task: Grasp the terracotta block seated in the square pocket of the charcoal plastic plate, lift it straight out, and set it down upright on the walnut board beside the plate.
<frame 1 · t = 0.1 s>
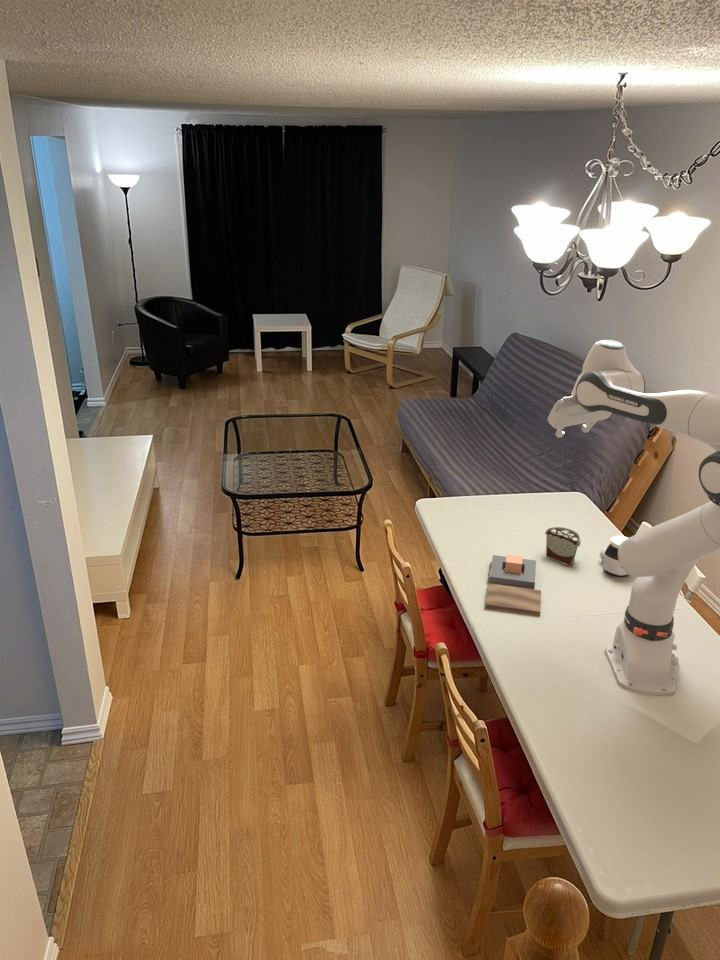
hand: (571, 433, 209), 52 cm above the table, tool tilted 20°, fingers open, 8 cm apart
spread jar: (613, 569, 242), on the table
walnut board: (513, 601, 224), on the table
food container: (562, 558, 248), on the table
pocket plate: (512, 575, 238), on the table
terracotta block: (513, 567, 237), in the pocket plate
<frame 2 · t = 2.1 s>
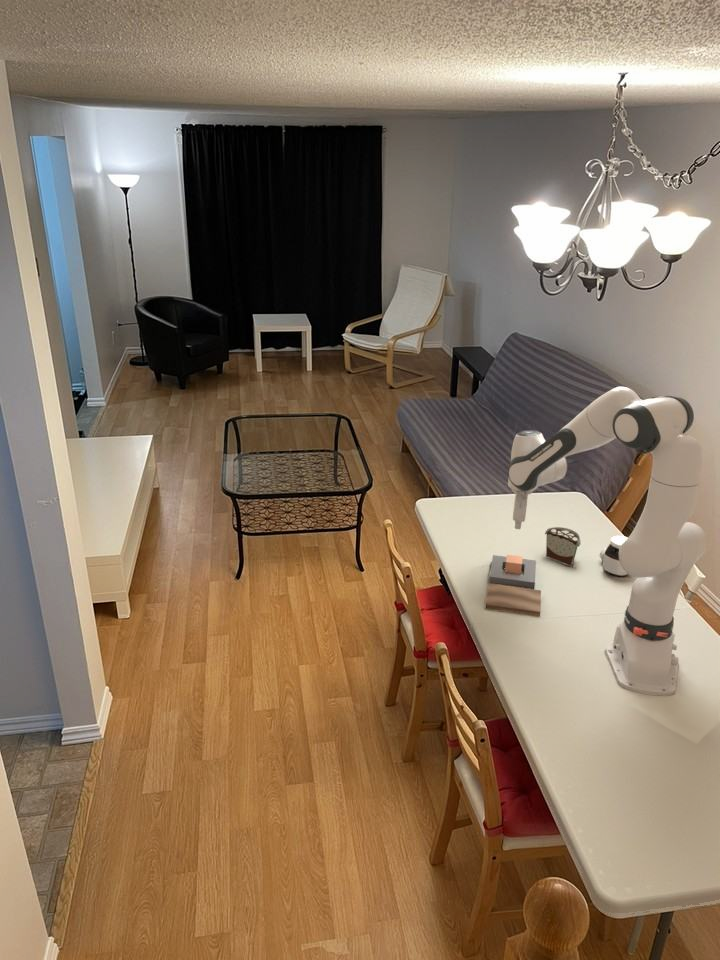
hand: (518, 521, 230), 19 cm above the table, tool pointing down, fingers open, 8 cm apart
nothing on the table moved.
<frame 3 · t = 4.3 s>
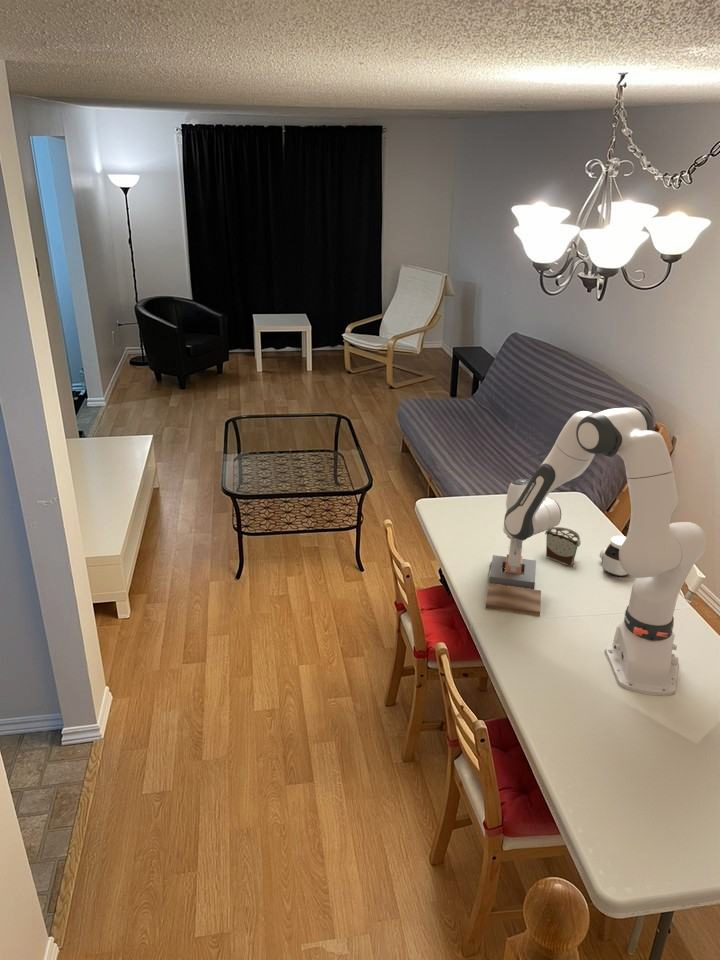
hand: (513, 565, 236), 4 cm above the table, tool pointing down, fingers closed on terracotta block, 5 cm apart
terracotta block: (513, 567, 236), in the pocket plate, touching gripper
everything else where it was.
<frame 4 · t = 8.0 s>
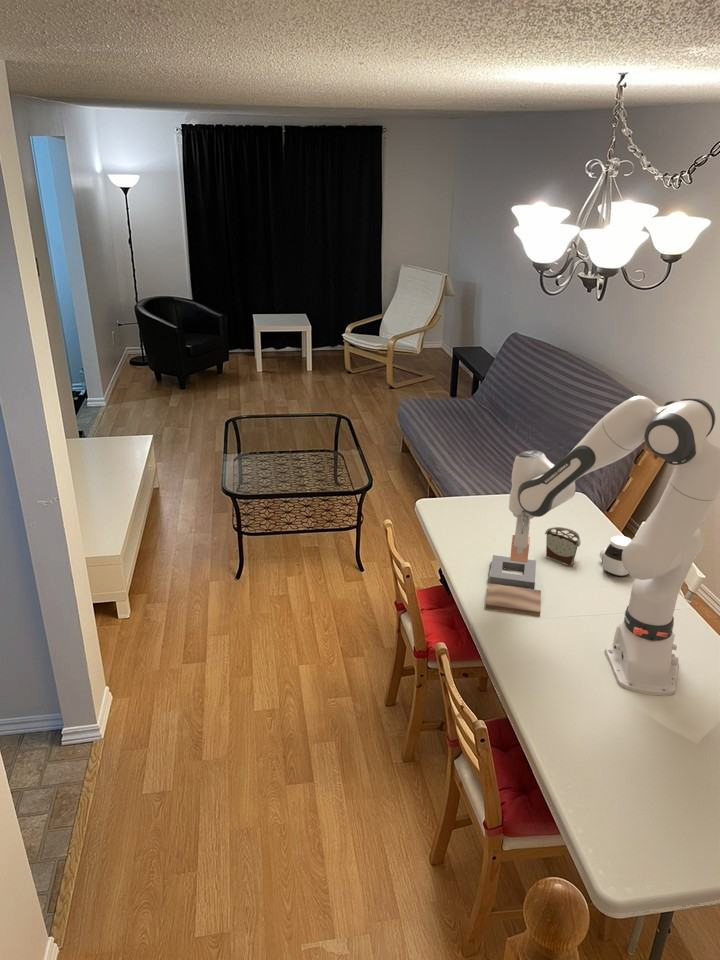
hand: (520, 546, 216), 19 cm above the table, tool pointing down, fingers closed on terracotta block, 5 cm apart
terracotta block: (520, 548, 217), point 18 cm above the table, touching gripper
everything else where it was.
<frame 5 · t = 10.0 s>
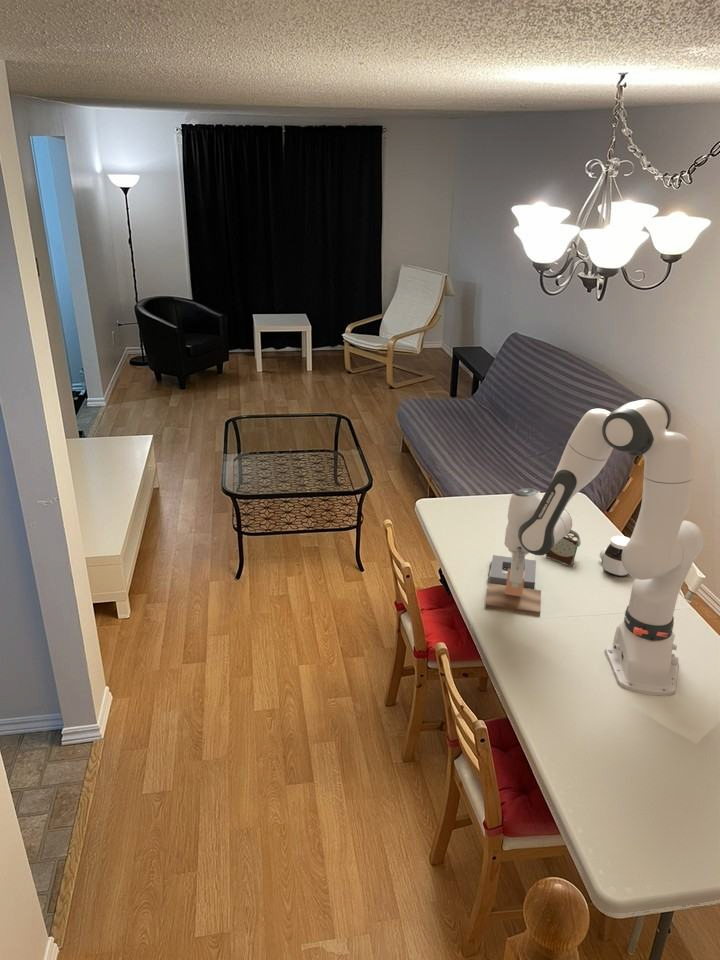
hand: (515, 580, 221), 7 cm above the table, tool pointing down, fingers closed on terracotta block, 5 cm apart
terracotta block: (515, 582, 221), point 7 cm above the table, touching gripper
everything else where it was.
when the fingers open (6 cm above the table, at t = 11.5 s): terracotta block stays where it is, resting on walnut board.
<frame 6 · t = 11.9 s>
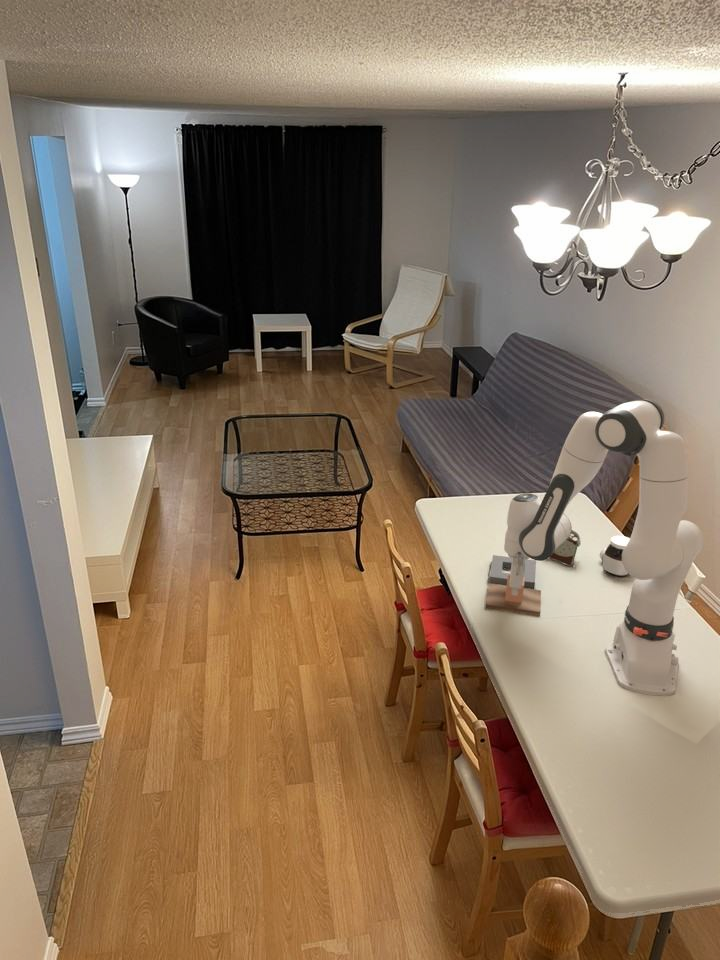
hand: (515, 585, 221), 6 cm above the table, tool pointing down, fingers open, 8 cm apart
terracotta block: (514, 588, 222), on the walnut board, point 4 cm above the table
everything else where it was.
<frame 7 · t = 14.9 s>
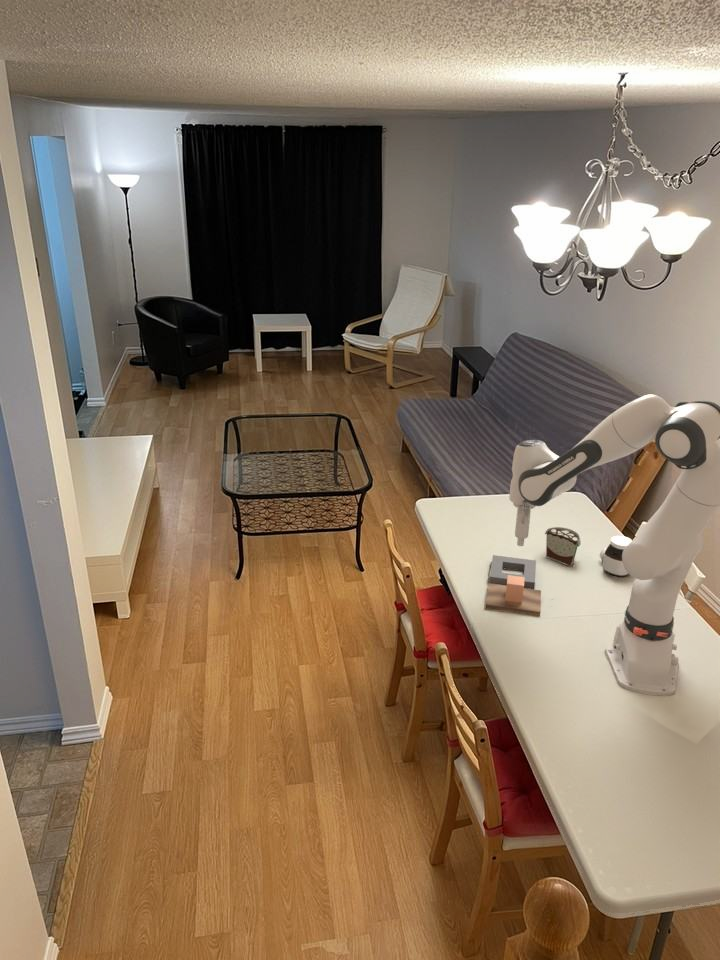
hand: (520, 537, 215), 22 cm above the table, tool pointing down, fingers open, 8 cm apart
nothing on the table moved.
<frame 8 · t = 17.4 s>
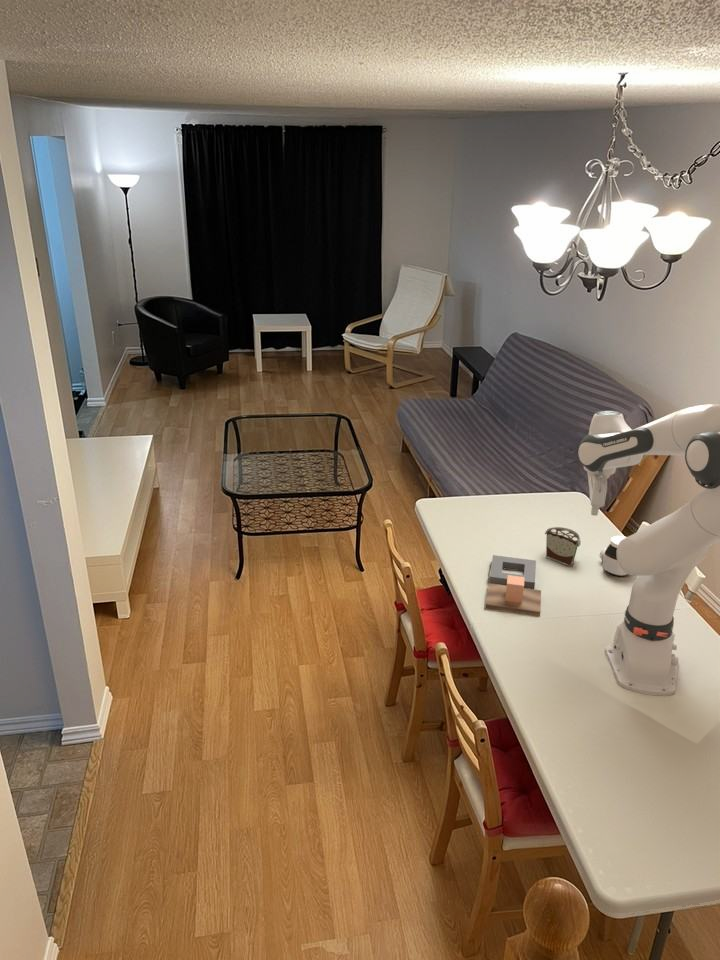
hand: (593, 507, 217), 29 cm above the table, tool pointing down, fingers open, 8 cm apart
nothing on the table moved.
at the end: terracotta block inside the target area on the walnut board (0.0 cm from its centre), point 4.5 cm above the walnut board's base; terracotta block tilted 0°; the gripper is holding nothing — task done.
